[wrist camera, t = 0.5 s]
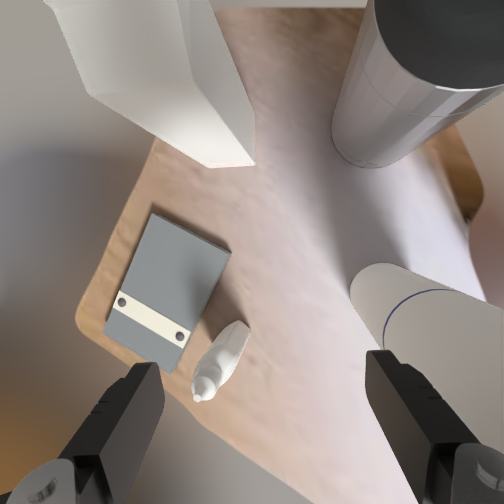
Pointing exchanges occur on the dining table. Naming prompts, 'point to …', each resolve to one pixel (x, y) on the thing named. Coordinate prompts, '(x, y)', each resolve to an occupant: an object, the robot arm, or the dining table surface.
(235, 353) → the eye dropper bottle
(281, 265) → the dining table surface
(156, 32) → the milk
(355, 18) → the dining table surface
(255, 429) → the dining table surface
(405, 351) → the cylindrical container
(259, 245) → the dining table surface
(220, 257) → the floor panel
